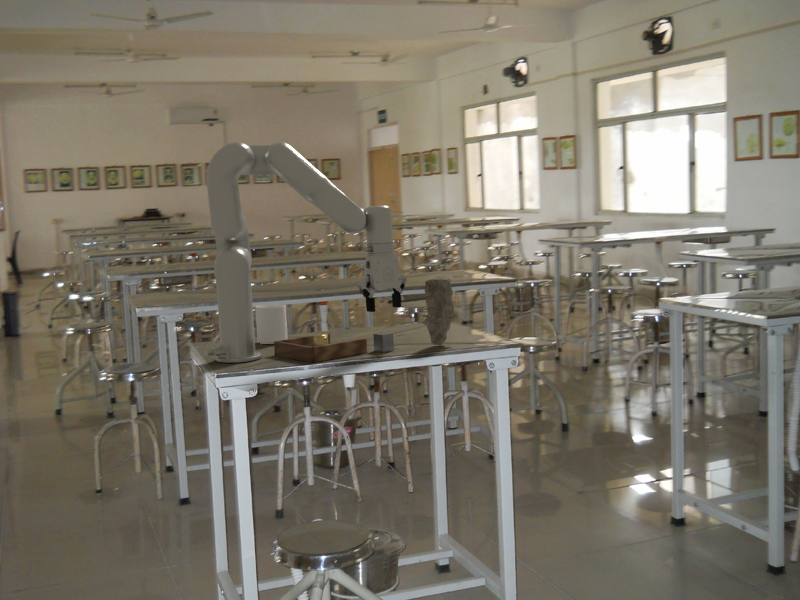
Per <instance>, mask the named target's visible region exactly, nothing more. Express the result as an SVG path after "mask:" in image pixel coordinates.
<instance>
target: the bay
mask: <svg viewBox="0 0 800 600" xmlns="http://www.w3.org/2000/svg"><path fill="white" fill-rule="evenodd" d="M323 334H328V344H327V345H321V346H316V347H314V335H315V334H313V335H312V334H311V335H306V336H305V335H304V336H300V337H295V338H294V337H293V338H287V339H286V340H280V341H274V345H273V347H274V348H273V349H274V356H277V357H281V358H282V357H283V358H286V359H287V358H288V359H291V360H292V359H293V360H297V361H302V362H307V363H317V362H318V363H319V362H321V361H322V362H324V361H328V360H332V359H333V360H334V359H340V358H344V357H350V356H356V355H361V354H366V353H368V345H367V344H368V339H367V338H366V337H364V338H358V339H353V340H346V341H340V342H334V343H331V333H330V332H325V333H323Z"/></svg>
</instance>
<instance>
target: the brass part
mask: <svg viewBox="0 0 800 600" xmlns="http://www.w3.org/2000/svg"><path fill="white" fill-rule="evenodd" d="M313 335H314V347H316V346H321V345H327V344H328V334H324V333H317V334H316V333H315V334H313Z"/></svg>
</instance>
